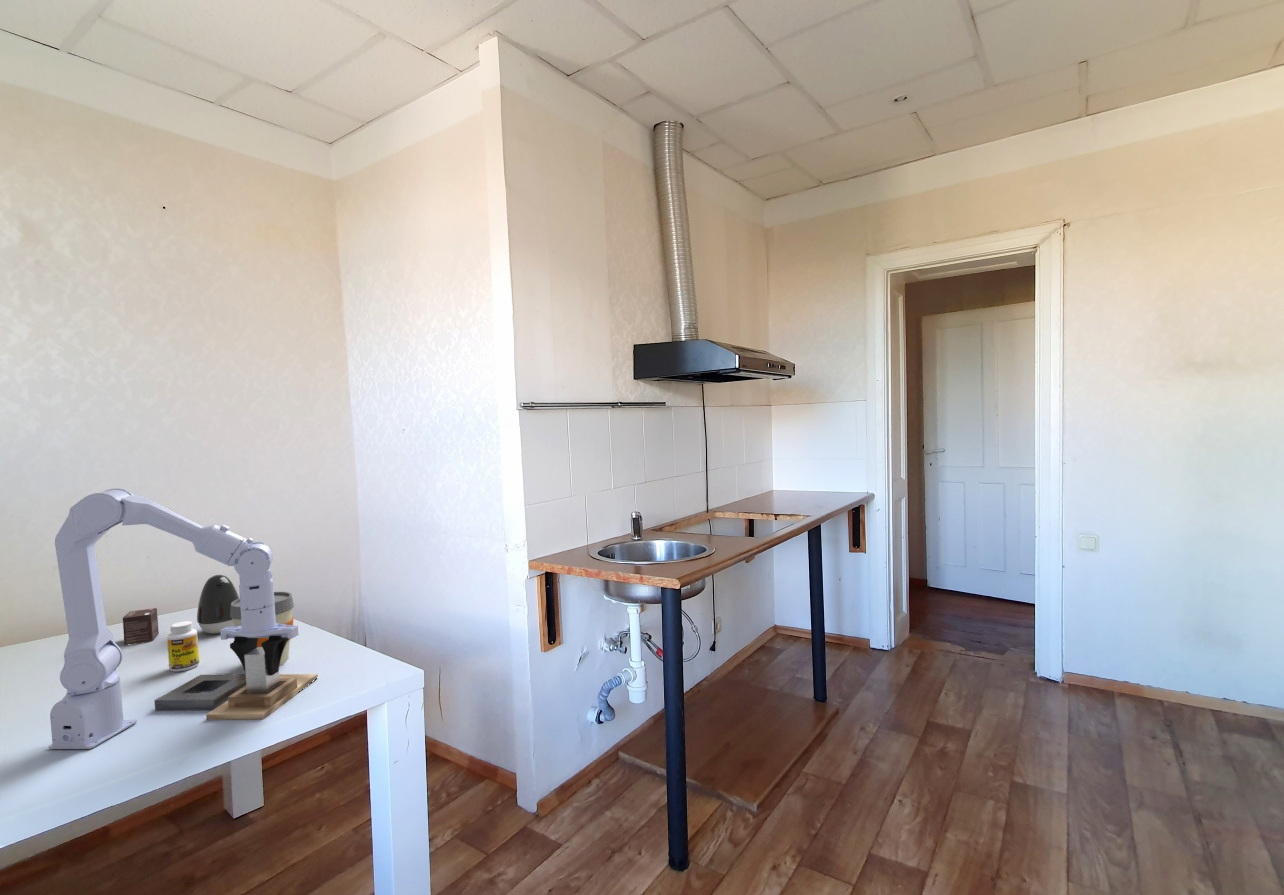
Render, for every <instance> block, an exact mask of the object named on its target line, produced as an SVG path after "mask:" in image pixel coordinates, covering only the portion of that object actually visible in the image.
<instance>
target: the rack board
mask: <svg viewBox="0 0 1284 895" xmlns="http://www.w3.org/2000/svg"><path fill="white" fill-rule="evenodd" d="M318 676H319V675H318V673H297V674H295V673H289V674H287V673H286V674H284V673H283V674H282V673H281V674H280V673H279V680H280V686H279V687H277V688H276V689H275V690H273V691H272V692H270V693H269V694H247V685H246V686H244V687H243V688H241V689H240V690H238V691H237V692H235V693H233V694H232V695H230V696H229V697H228V701H226V702H225V703H223V704H222V705H220V706H218V707H217V708H215V709H214V710H211V711H209V712H208V713H206V714H205V716H206V720H210V721H211V720H212V721H213V720H218V721H219V720H264V719H265V718H267V717H269V715H271V714H272V713H273V712H275V711H276V710H277V709H279V708H280V707H281V706H283V705H284V704H286V703H287V702H288V701H290V700H292V698H294V697H295V696H296V695H298V694H299V693H300V692H302V691H303V690H304V689H306V688H307V687H308V686H309V685H308V684H310V683H311V682H312V681H313V680H315V679H316V678H317V677H318ZM318 678H319V677H318ZM316 680H317V679H316ZM316 680H315V681H316ZM312 683H313V682H312ZM312 683H311V684H312ZM311 684H310V685H311ZM307 685H308V686H307ZM306 686H307V687H306ZM305 687H306V688H305ZM303 688H304V689H303ZM302 689H303V690H302ZM301 690H302V691H301ZM299 691H300V692H299ZM298 692H299V693H298ZM297 693H298V694H297Z"/></svg>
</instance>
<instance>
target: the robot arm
mask: <svg viewBox="0 0 1284 895" xmlns="http://www.w3.org/2000/svg"><path fill="white" fill-rule="evenodd" d="M121 523H122V524H121ZM119 524H121V525H122V526H135V525H137V526H138V525H148V526H151V527H153V528H156V529H158V530H160V531H164V532H166V533H168V534H171V535H173V536H176V537H179V538H181V539H183V540H186V541H188V542H191V543H192V545H193V547H194V551H195V552H196V553H199V554H201V555H203V556H206V557H208V558H210V559H212V560H215V561H216V562H219V563H221V564H224V565H226V566H227V567H233V568H234V570H235V572H236V573H237V574H238V576H239V577H238V578H239V586H238V589H239V590H238V591H239V599H240V607H241V622H242V626H235V627H226V628H224V629H222V630H220V632H221V633H220V640H223V641H224V640H228V639H234V640H233V642H230V644H229V648H230V649H231V650H232V651H233V652H234V654H235V655H236V656H237V658H238V661H240V664H241V665H242V668H243V670H244V674H246V671H245V657H244V655H245V654H247V653H249V652H250V651H252V650H254V649H256V648H257V641H258V638H269V640H266V641H264V642H263V643H261V645H262V647H263V650H264V652H265V656H266V660H267V670H268V674H269V676H272V675H274V674H275V673H277V672H278V670H279V671H280V666H281V665H280V660H281V656H282V653H283V650H284V648H285V646H286V643H287V641H288V640H289V638H291V639H294V638H296V637H297V636H299V626H298V625H294V624H293V625H284V624H277V623H276V618H275V602H274V592H275V590H274V580H273V572H272V567H271V564H272V562H273V558H274V556H273V555H274V553H273V551H272V549H271V548H270V546H268V545H266V544H265V543H264V542H262V541H254V538H251V537H248V538H245V537H244V536H241V535H239V534H237V533H234V532H233V531H230V526H228V525H225V524H222V525H221V526H220V525H217V524H211V525H208V526H203V525H201V524H199V523H197V522H194V521H193V520H191V519H189V518H187V517H185V516H183V515H181V514H179V513H177V512H175V511H172V510H171V509H169V508H167V507H166V506H163V505H161V504H159V503H157V502H155V501H153V500H151V499H150V498H147V497H145V496H142V495H140V494H136V493H135V494H133V493H131V492H130V491H128V490H126V489H124V488H111V489H106V490H104V491H101V492H93V493H91V494H88V495H86V496H84V497H83V498H82V499H80V500H79V501H78V502H76V503H75V504H73V505H72V506H70V508H69V512H68V515H67V516H66V519H65V520H64V522H63V524H62V525H61V527H60V528H59V530H58V532H57V534H56V535H55V538H54V548H55V552H56V553H55V554H56V560H57V566H58V567H57V568H58V573H59V580H60V587H61V594H62V600H63V607H64V613H65V619H66V620H65V621H66V626H67V634H68V641H67V644H66V646H65V648H64V651H63V652H64V653H63V659H64V660H63V661H64V662H63V663H64V664H63V666H62V669H61V670H60V674H59V680H60V684H61V685H62V687H63V688H64V689H66V693H65V696H64V697H63V698H62V699H60V700H59V701H57V702H56V703H55V704H54V705H53V706H52V708H51V710H50V713H49V718H50V732H51V742H52V743H51V744H50V745H48V750H89V749H92V748H95V747H96V746H98V745H100V744H102V743H103V742H106V741H107V740H109V739H111V738H112V737H114V736H115V735H117V734H119V733H121V732H124V731H125V730H126V729H127V728H129V727H131V726H134V725H135V724H136V723H137V719H124V712H123V711H124V709H123V700H122V698H123V697H122V688H121V687H122V686H121V676H120V675H119V673H118V672H117V668H118V667H119V666H120V665H121V663H122V661H123V657H124V656H123V652H122V649H121V648H120V646H119V645H118V644H117V643H116V641H115V639H114V633H113V632H112V631H111V630H110V629H109V628H108V626H107V621H106V620H107V619H106V613H105V607H104V606H105V605H104V599H103V593H102V585H101V584H102V583H101V578H100V570H99V563H98V558H97V551H96V550H97V549H96V543H97V542H98V541H99V540H100V539H101V538H102V537H103V536H104V535H106V534H107V533H108V532H109V531H110V530H111V529H112V528H113V527H116V526H118V525H119ZM279 665H280V666H279Z"/></svg>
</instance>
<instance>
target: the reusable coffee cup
mask: <svg viewBox="0 0 1284 895" xmlns="http://www.w3.org/2000/svg"><path fill="white" fill-rule="evenodd" d="M274 602H275V618H276V623H277V624H284V625H293V626H294V617H293V608H294V607H295V604H294V599H293V595H292V593H291V592H289V591H274ZM230 617H231V618H232V619H233V624H234V627H235V626H242V622H241V607H240V598H239V599H237V600H235V601H233V602H232V603H231V612H230ZM266 640H269V638H258V641H257V648H258V647H262V645H261V643H263V642H264V641H266ZM291 640H292V638H289V640H288V641H287V643H286V646H285V648H284V650H283V653H282V656H281V660H280V666H282V665H284V664H286V663H287V662H288V661H289V658H290V656H289V655H290V647H291V646H290V645H291V644H290V642H291ZM287 660H288V661H287ZM286 661H287V662H286ZM285 662H286V663H285ZM283 663H284V664H283Z"/></svg>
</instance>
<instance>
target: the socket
mask: <svg viewBox="0 0 1284 895" xmlns="http://www.w3.org/2000/svg"><path fill="white" fill-rule="evenodd" d="M244 686H246V673H234V674H233V673H229V674H219V673H217V674H199V675H198V676H196V677H194V678H192V679H190V680H188V681H186V682H185V683H183V684H181V685H179V686H178V687H176V688H173V689H172V690H171V691H168V692H167V693H165V694H163V695H161V696H160V697H157V698H156V699H154V710H155V711H205V710H206V711H208V710H211V711H212V710H214V709H215V708H217V707H218V706H220V705H222V704H223V703H225V702H226V701H228V697H229V696H230V695H232V694H233V693H235V692H237V691H238V690H240V689H241V688H243V687H244ZM204 691H211V692H204Z"/></svg>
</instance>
